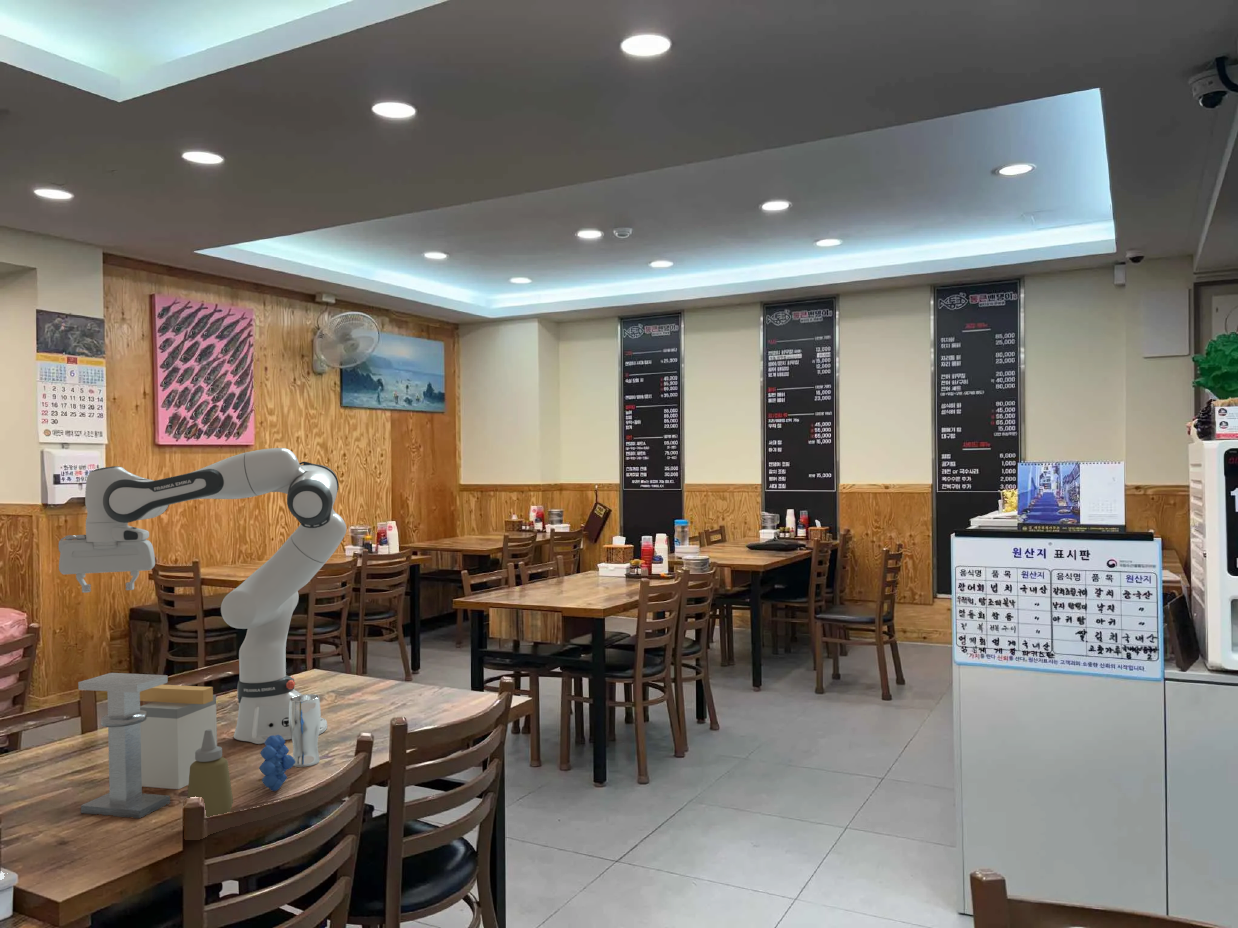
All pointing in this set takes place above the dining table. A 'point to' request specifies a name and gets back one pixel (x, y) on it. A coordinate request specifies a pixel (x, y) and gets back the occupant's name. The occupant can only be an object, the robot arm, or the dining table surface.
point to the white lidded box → (173, 741)
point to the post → (124, 745)
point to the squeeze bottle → (211, 777)
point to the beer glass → (305, 728)
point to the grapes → (275, 762)
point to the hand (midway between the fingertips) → (108, 590)
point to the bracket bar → (178, 694)
